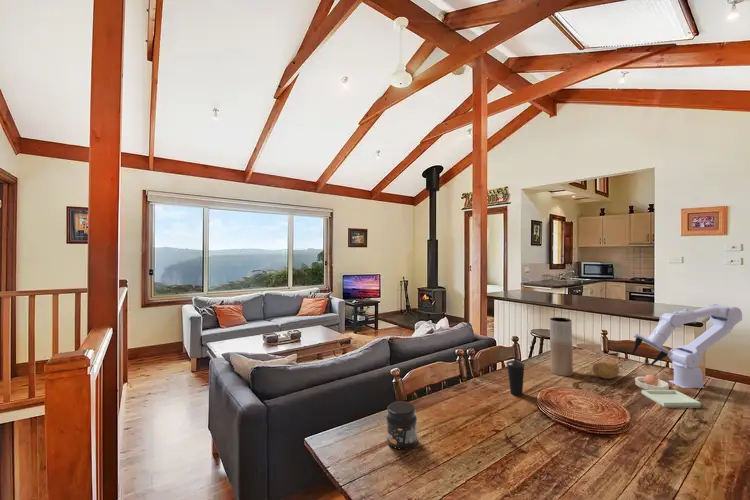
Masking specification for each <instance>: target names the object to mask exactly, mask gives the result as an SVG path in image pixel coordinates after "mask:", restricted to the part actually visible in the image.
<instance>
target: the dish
mask: <svg viewBox="0 0 750 500" xmlns="http://www.w3.org/2000/svg"><path fill="white" fill-rule="evenodd" d="M644 378H645V376H637V377H634V383H635V384H634V385H636V386H637V387H639V388H640V389H641V388H642V389H643V390H670V385H669V383H668V382H666V381H665V380H662V379H659V378H657V379H658V385H657V386H653V385H648V384H646V383H645V381H644Z"/></svg>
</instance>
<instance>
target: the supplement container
mask: <svg viewBox="0 0 750 500" xmlns="http://www.w3.org/2000/svg"><path fill="white" fill-rule="evenodd" d="M385 418H386V419H385V420H386V442H387V443H388V445H389V444H390V445H391V446H390V445H389V446H390V447H392V446H393V447H396V448H400V449H399V450H401V449H405V450H407V449H406V448H409V449H412V448H413V447H415V446H416V444H417V442H418V425H417V424H418V423H417V421H418V416H417V415H416V407H415V405H414V404H413V403H411V402H409V401H403V400H401V401H399V400H398V401H393V402H391V403H389V404H388V406H387V414H386V417H385ZM414 445H415V446H414ZM393 447H392V448H393ZM411 447H412V448H411ZM396 448H395V449H396Z"/></svg>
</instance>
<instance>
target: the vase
mask: <svg viewBox="0 0 750 500" xmlns="http://www.w3.org/2000/svg"><path fill="white" fill-rule="evenodd" d="M572 325H573V323H572V319H570V318H566V317H559V316H558V317H550V318H549V334H550V335H549V337H550V339H549V341H550V343H549V345H550V348H549V349H550V370H551V373H552V374H555V375H557V376H561V377H570V376H573V374H574V360H573V359H574V358H573V332H572V331H573V329H572Z"/></svg>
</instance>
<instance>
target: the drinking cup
mask: <svg viewBox="0 0 750 500" xmlns="http://www.w3.org/2000/svg"><path fill="white" fill-rule="evenodd" d="M513 351H514V354H513V355H514V359H511V360H508V361H506V367H507V373H508V382H509V383H508V384H509V389H510V394H511V395H512V396H515V397H522V396H523V392H524V391H523V390H524V389H523V388H524V374H525V365H526V364H525V362H522V361H520V360H517V349H516V348H514V350H513Z"/></svg>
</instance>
